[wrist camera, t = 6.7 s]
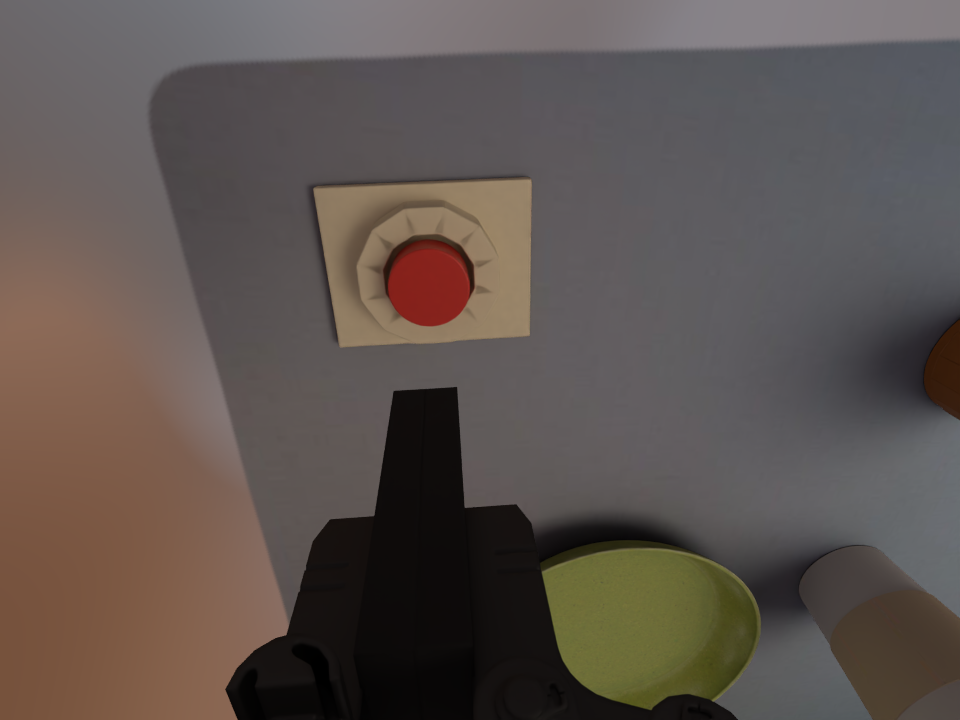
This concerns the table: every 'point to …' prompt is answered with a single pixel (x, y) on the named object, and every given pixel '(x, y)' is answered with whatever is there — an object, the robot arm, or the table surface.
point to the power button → (429, 283)
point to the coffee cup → (886, 634)
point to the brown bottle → (945, 372)
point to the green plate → (650, 620)
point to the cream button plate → (418, 216)
